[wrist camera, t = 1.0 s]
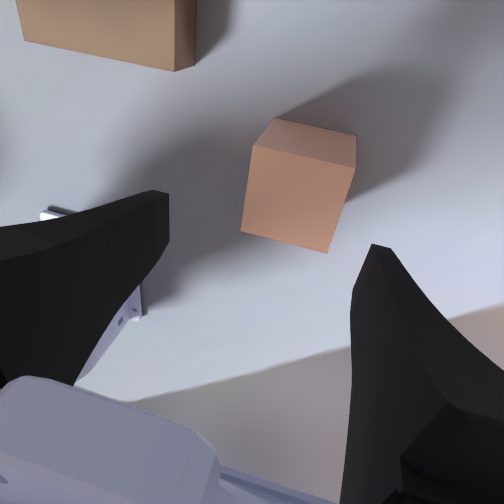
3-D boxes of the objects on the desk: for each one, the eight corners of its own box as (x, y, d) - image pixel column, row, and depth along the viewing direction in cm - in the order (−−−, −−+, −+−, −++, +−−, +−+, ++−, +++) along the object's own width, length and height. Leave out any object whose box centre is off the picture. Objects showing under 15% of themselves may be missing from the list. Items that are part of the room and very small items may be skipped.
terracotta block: (332, 208, 21) (326, 253, 17) (261, 191, 21) (240, 230, 17) (356, 135, 18) (356, 168, 14) (274, 117, 19) (252, 144, 15)
